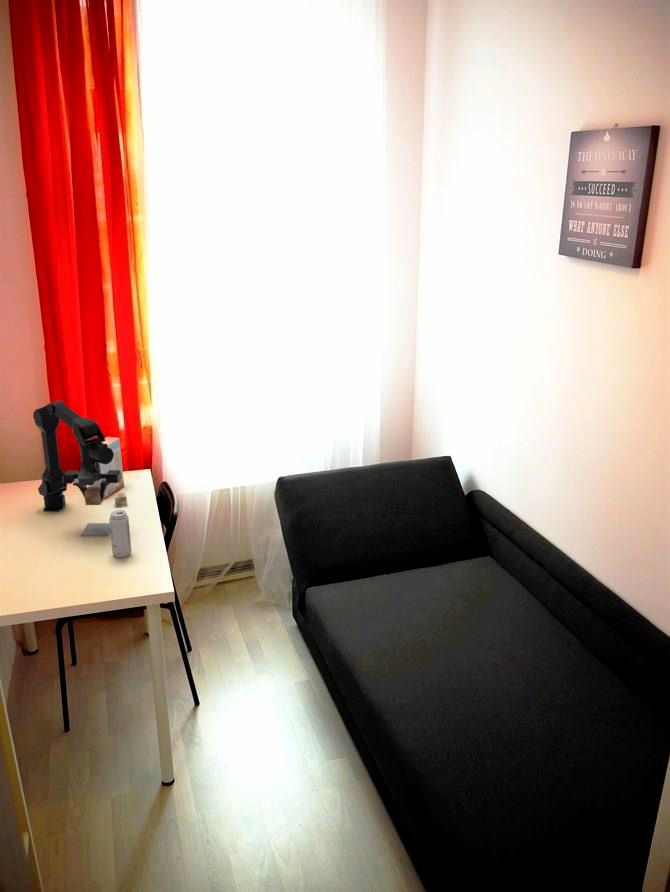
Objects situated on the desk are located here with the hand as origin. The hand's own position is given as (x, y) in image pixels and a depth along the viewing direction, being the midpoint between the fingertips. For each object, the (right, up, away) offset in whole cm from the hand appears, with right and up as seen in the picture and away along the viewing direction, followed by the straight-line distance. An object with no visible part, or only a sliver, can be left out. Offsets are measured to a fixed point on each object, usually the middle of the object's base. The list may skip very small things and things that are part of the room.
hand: (94, 499), depth 260 cm
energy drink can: (+13, -17, -13) cm, 26 cm away
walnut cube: (0, -1, 0) cm, 1 cm away
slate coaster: (0, -11, +3) cm, 12 cm away
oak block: (+2, -4, +24) cm, 24 cm away
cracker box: (-6, 0, +35) cm, 36 cm away
